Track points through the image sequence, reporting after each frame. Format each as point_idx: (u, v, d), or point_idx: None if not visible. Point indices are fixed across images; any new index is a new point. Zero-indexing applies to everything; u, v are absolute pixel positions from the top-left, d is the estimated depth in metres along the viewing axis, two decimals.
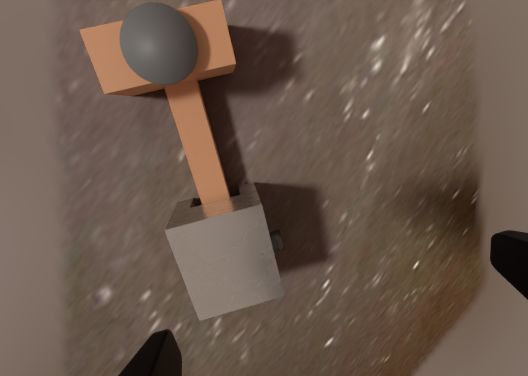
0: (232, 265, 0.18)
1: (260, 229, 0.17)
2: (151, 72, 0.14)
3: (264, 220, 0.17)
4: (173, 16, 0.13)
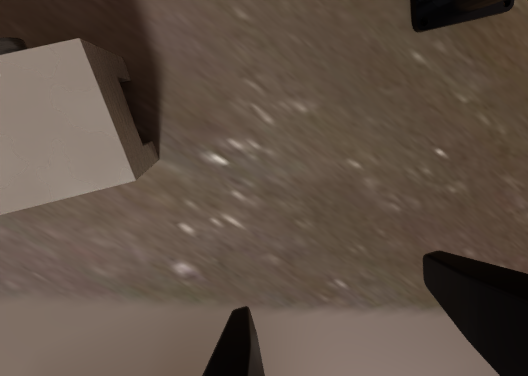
0: (25, 129, 0.11)
1: None
2: None
3: None
4: None
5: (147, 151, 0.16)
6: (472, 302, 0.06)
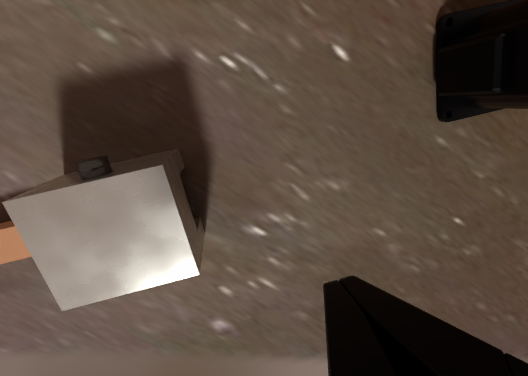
0: (109, 237, 0.13)
1: (45, 203, 0.12)
2: None
3: (28, 198, 0.12)
4: None
5: (199, 232, 0.17)
6: None
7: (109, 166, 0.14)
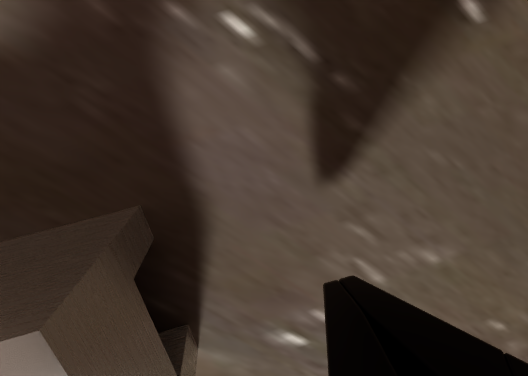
0: None
1: None
2: None
3: None
4: None
5: (185, 372, 0.09)
6: None
7: None
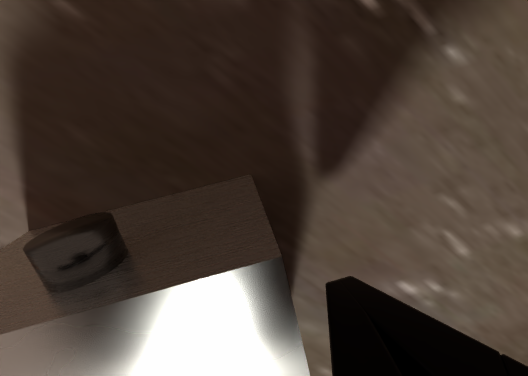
0: None
1: None
2: None
3: None
4: None
5: None
6: None
7: (120, 243, 0.05)
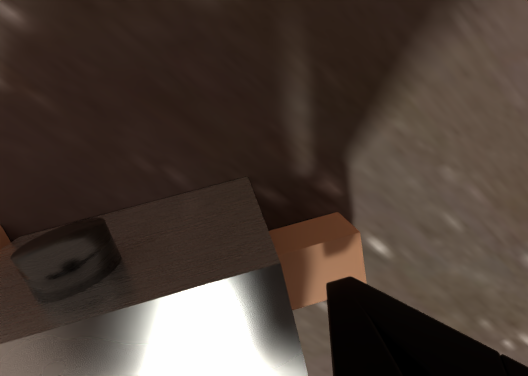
0: None
1: None
2: None
3: None
4: None
5: None
6: None
7: (113, 250, 0.05)
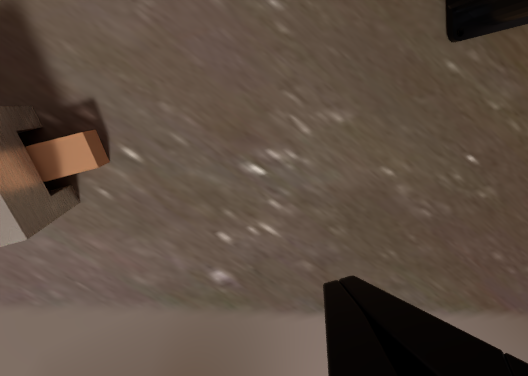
0: None
1: None
2: None
3: None
4: None
5: (59, 199, 0.15)
6: None
7: None
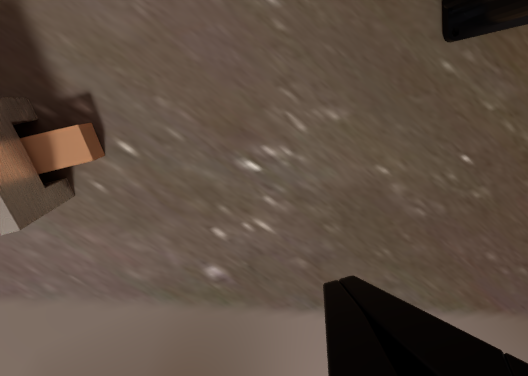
0: None
1: None
2: None
3: None
4: None
5: (53, 191, 0.15)
6: None
7: None
